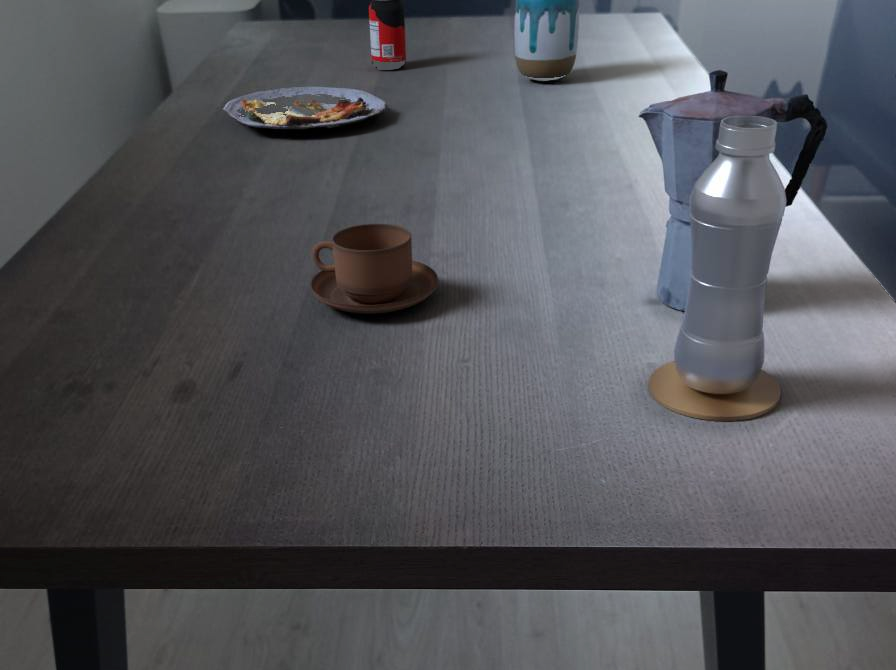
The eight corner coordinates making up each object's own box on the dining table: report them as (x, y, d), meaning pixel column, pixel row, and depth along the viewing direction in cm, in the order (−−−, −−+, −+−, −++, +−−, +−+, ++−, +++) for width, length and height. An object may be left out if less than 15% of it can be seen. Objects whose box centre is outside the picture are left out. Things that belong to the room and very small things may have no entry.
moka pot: (626, 274, 102) (643, 58, 91) (790, 281, 99) (828, 59, 88) (622, 313, 94) (640, 82, 83) (801, 322, 91) (843, 83, 80)
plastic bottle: (751, 411, 77) (794, 137, 66) (661, 395, 80) (688, 130, 69) (766, 374, 82) (808, 114, 71) (680, 361, 85) (709, 107, 74)
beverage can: (406, 71, 187) (403, -2, 181) (371, 72, 187) (367, 0, 181) (406, 64, 193) (404, -7, 186) (372, 65, 193) (368, -6, 186)
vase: (537, 90, 170) (540, -39, 160) (501, 79, 178) (502, -45, 168) (589, 81, 175) (595, -46, 164) (552, 71, 182) (556, -51, 172)
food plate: (409, 126, 154) (408, 101, 152) (260, 150, 146) (257, 124, 144) (344, 94, 173) (343, 72, 171) (209, 114, 165) (206, 91, 163)
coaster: (755, 358, 85) (756, 353, 85) (799, 417, 77) (800, 412, 77) (635, 365, 85) (635, 360, 85) (666, 425, 77) (667, 420, 77)
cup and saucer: (307, 327, 94) (301, 262, 91) (317, 277, 104) (312, 217, 101) (439, 322, 94) (437, 257, 90) (437, 273, 104) (435, 213, 101)
